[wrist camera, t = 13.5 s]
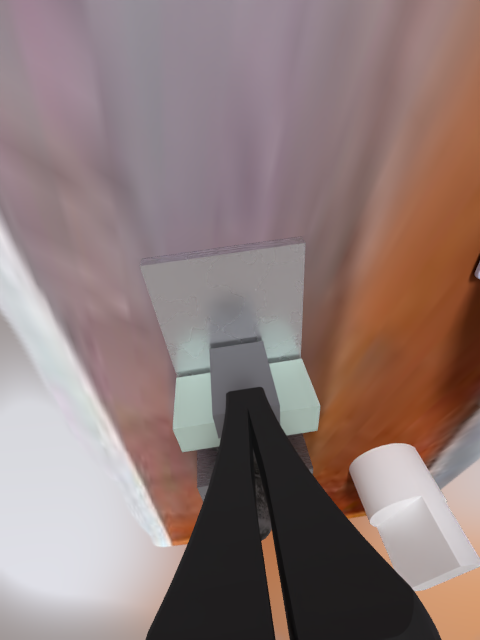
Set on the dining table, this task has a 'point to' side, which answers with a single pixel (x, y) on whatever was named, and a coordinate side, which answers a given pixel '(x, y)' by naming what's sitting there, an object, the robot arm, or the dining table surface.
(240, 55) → the dining table surface
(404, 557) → the cylinder with rectangular tab
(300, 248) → the plate
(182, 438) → the vise jaw
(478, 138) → the dining table surface
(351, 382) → the dining table surface
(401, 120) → the dining table surface
